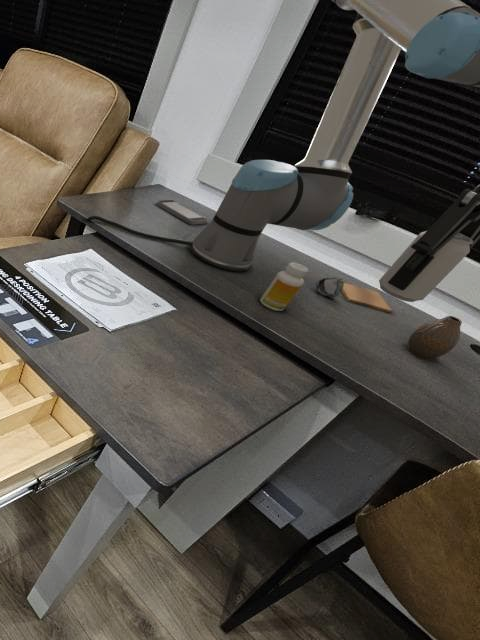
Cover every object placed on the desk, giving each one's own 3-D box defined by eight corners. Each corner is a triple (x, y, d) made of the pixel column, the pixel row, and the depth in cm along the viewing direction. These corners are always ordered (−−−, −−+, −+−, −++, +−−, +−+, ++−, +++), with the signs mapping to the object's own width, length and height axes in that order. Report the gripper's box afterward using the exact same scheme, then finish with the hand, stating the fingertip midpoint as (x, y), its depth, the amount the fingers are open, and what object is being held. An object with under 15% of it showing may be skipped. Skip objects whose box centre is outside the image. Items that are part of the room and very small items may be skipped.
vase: (438, 354, 98) (475, 321, 92) (438, 367, 93) (476, 333, 88) (402, 338, 100) (435, 305, 95) (400, 350, 96) (434, 316, 90)
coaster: (347, 300, 111) (349, 298, 111) (336, 282, 118) (337, 280, 118) (390, 312, 110) (392, 310, 109) (376, 293, 117) (378, 292, 117)
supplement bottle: (287, 314, 101) (316, 275, 94) (263, 308, 101) (290, 269, 94) (279, 301, 105) (307, 263, 98) (256, 296, 105) (282, 258, 98)
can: (367, 279, 88) (417, 220, 80) (403, 286, 88) (457, 227, 80) (390, 300, 82) (448, 238, 74) (429, 307, 83) (490, 246, 75)
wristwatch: (323, 298, 113) (320, 278, 113) (346, 294, 108) (343, 274, 108) (315, 300, 112) (312, 280, 112) (337, 297, 108) (334, 276, 107)
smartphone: (193, 221, 133) (156, 200, 142) (191, 224, 133) (155, 204, 142) (209, 219, 136) (172, 199, 145) (207, 223, 137) (171, 203, 146)
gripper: (529, 159, 62) (397, 300, 77) (586, 163, 70) (456, 291, 85) (470, 141, 67) (357, 278, 82) (529, 147, 75) (416, 270, 90)
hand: (407, 284), depth 84 cm, fingers closed on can, 7 cm apart
